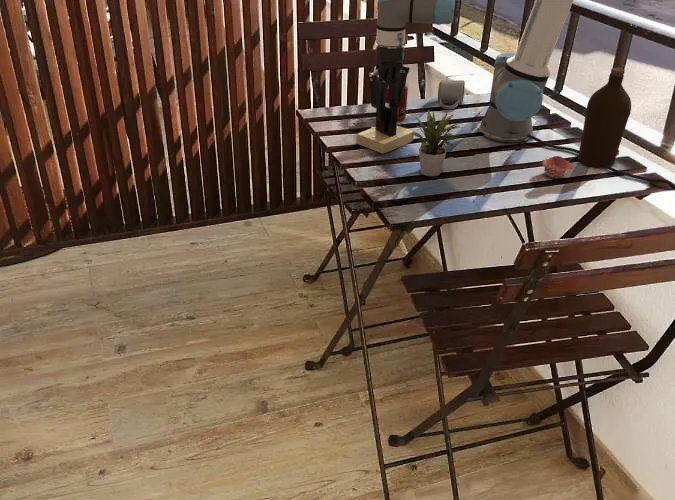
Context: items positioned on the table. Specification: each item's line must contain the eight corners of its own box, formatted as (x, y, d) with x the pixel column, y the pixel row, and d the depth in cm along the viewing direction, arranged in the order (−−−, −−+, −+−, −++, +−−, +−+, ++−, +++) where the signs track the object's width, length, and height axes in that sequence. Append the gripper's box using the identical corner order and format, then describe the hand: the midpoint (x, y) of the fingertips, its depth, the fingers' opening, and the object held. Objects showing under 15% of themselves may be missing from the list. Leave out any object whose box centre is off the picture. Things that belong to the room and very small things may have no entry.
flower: (552, 167, 172) (556, 148, 169) (576, 178, 166) (581, 158, 163) (531, 174, 168) (535, 154, 165) (556, 186, 162) (560, 166, 159)
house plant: (445, 191, 160) (452, 128, 151) (394, 178, 165) (398, 117, 156) (465, 169, 170) (473, 110, 161) (417, 158, 176) (421, 100, 167)
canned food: (404, 123, 197) (406, 88, 191) (378, 121, 198) (379, 86, 193) (407, 114, 204) (409, 80, 198) (381, 112, 205) (383, 78, 199)
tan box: (383, 154, 178) (384, 143, 176) (355, 143, 184) (356, 132, 182) (414, 141, 186) (414, 131, 184) (386, 131, 192) (386, 121, 190)
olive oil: (587, 170, 170) (610, 77, 157) (568, 154, 179) (588, 64, 166) (624, 167, 172) (649, 74, 159) (603, 151, 181) (625, 62, 167)
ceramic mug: (438, 97, 217) (441, 75, 213) (463, 100, 215) (466, 77, 211) (435, 109, 208) (437, 86, 204) (460, 111, 207) (463, 88, 202)
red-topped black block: (396, 135, 182) (397, 106, 177) (390, 136, 181) (391, 108, 176) (381, 128, 186) (382, 100, 182) (375, 129, 185) (376, 101, 180)
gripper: (377, 52, 164) (373, 139, 176) (421, 43, 172) (414, 127, 184) (358, 46, 169) (356, 131, 181) (402, 37, 177) (397, 119, 189)
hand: (385, 129), depth 183 cm, fingers closed on red-topped black block, 2 cm apart
